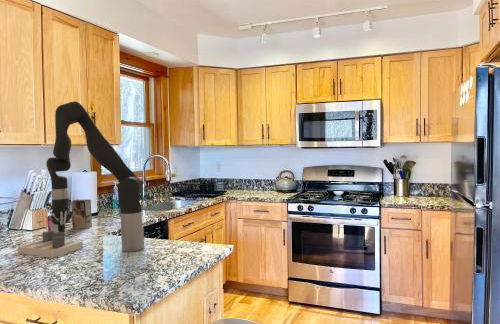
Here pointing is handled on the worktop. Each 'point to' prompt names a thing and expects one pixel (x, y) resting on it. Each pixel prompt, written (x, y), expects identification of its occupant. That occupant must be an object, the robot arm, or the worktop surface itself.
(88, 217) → the coffee box
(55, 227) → the supplement box
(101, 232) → the worktop surface
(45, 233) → the tab
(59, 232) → the tab
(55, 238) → the tab
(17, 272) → the worktop surface
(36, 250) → the switch panel
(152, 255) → the worktop surface
